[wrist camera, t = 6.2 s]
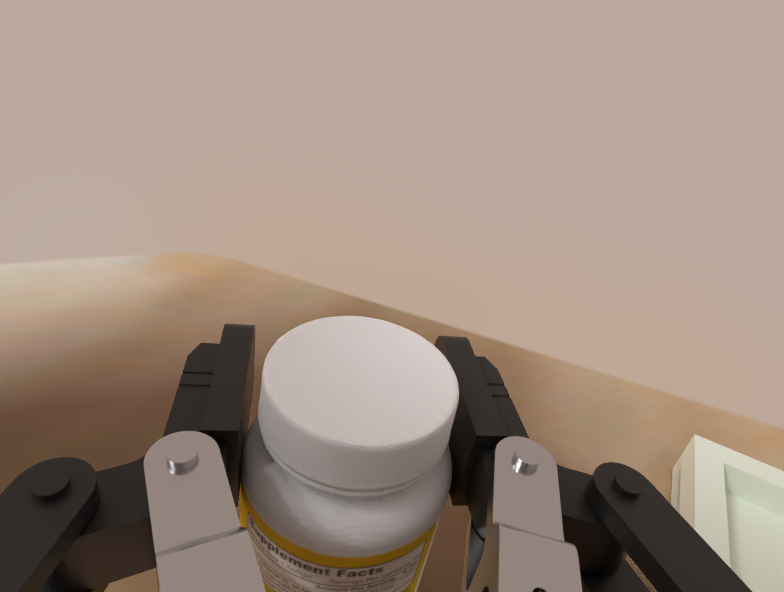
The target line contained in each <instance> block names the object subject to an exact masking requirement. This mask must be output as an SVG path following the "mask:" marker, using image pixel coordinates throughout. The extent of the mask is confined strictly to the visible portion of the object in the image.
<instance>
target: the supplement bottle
mask: <svg viewBox="0 0 784 592" xmlns="http://www.w3.org/2000/svg"><path fill="white" fill-rule="evenodd" d="M458 401H459V386H458V381H457V377H456V375H455V372H454V370H453V369H452V367H451V364H450V363H449V362H448V360H447V359H446V357H445V356H444V355H443V354H442V353H441V352H440V351H439V350H438V349H437V348H436V347H435V346H434V345H433V344H431V343H430V342H429V341H427V340H426V339H424V338H423V337H422V336H420V335H418V334H416V333H415V332H413V331H411V330H408V329H406V328H404V327H402V326H399V325H396V324H394V323H391V322H388V321H384V320H380V319H375V318H370V317H362V316H334V317H325V318H320V319H316V320H313V321H309V322H307V323H304V324H301V325H299V326H297V327H295V328H294V329H292V330H290V331H288V332H287V333H285V334H284V335H283V336H282V337H281V338H279V339H278V340H277V341H276V343H275V344H274V345H273V346H272V348H271V349H270V351H269V352H268V354H267V356H266V359H265V361H264V366H263V370H262V381H261V391H260V397H259V402H258V409H257V412H258V416H257V417H256V418H255V420H254V421H253V423H252V425H251V426H250V428H249V430H248V433H247V435H246V438H245V441H244V445H243V452H242V461H241V484H240V525H241V527H246V529H247V530H248V533H249V535H250V538H251V541H252V545H253V548H254V552H255V555H256V559H257V562H258V566H259V569H260V573H261V576H262V580H263V583H264V587H265V590H266V592H417V590H418V587H419V583H420V580H421V577H422V574H423V571H424V567H425V564H426V561H427V558H428V555H429V552H430V549H431V546H432V543H433V540H434V537H435V534H436V531H437V528H438V525H439V522H440V519H441V516H442V513H443V510H444V507H445V504H446V500H447V497H448V494H449V491H450V487H451V482H452V469H453V467H452V458H451V452H450V448H449V444H448V442H449V437H450V432H451V428H452V425H453V421H454V417H455V414H456V410H457V406H458Z"/></svg>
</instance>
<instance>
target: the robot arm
mask: <svg viewBox="0 0 784 592" xmlns="http://www.w3.org/2000/svg"><path fill="white" fill-rule="evenodd" d="M435 347H436V348H437V349H438V350H439V351H440V352H441V353H442V354H443V355H444V356H445V357H446V359H447V360H448V362H449V363H450V364H451V367H452V369H453V370H454V372H455V375H456V377H457V381H458V386H459V401H458V406H457V410H456V414H455V417H454V421H453V425H452V428H451V432H450V437H449V442H448V444H449V448H450V452H451V458H452V467H453V469H452V482H451V487H450V491H449V493H450V497H451V500H452V504H453V506H454V505H468V507H469V510H470V514H471V516H470V519H469V521H468V524H467V528H466V540H465V551H464V563H463V575H462V586H461V592H650V591H649V590H648V588H647V587H646V586H645V585H644V583H643V582H642V581H641V579H640V578H639V577H638V576H637V574H636V573H635V572H634V571H633V569H632V568H631V567H630V565H629V564H628V563H627V562H626V560H625V558H626V557H627V555H629V556H630V557H631V558H632V560H633V561H634V562H635V564H636V565H637V566H638V567H639V569H640V570H641V571H642V572H643V574H644V575H645V576H646V577H647V579H648V580H649V581H650V582H651V584H652V585H653V586H654V587H655V589H656V590H657V591H658V592H752V591H751V590H750V588H749V587H748V586H747V585H746V584H745V583H744V582H743V581H742V580H741V579H740V578H739V577H738V576H737V575H736V574H735V572H734V571H733V570H732V569H731V568H730V567H729V566H728V565H727V564H726V563H725V562H724V561H723V560H722V559H721V557H720V556H719V555H718V554H717V553H716V552H715V551H714V550H713V549H712V548H711V547H710V546H709V545H708V544H707V543H706V541H705V540H704V539H703V538H702V537H701V536H700V535H699V534H698V533H697V532H696V531H695V530H694V529H693V528H692V526H691V525H690V524H689V523H688V522H687V521H686V520H685V519H684V518H683V517H682V516H681V515H680V514H679V513H678V511H677V510H676V509H675V508H674V507H673V506H672V505H671V504H670V503H669V502H668V501H667V500H666V499H665V498H664V497H663V495H662V494H661V493H660V492H659V491H658V490H657V489H656V488H655V487H654V486H653V485H652V484H651V483H650V482H649V481H648V480H647V479H646V478H645V477H644V476H643V475H642V474H640V473H639V472H637V471H636V470H634V469H632V468H630V467H628V466H626V465H623V464H619V463H613V462H608V463H603V464H601V465H599V466H598V467H597V468H596V470H595V471H594V473H593V475H589V474H586V473H582V472H579V471H575V470H571V469H568V468H565V467H562V466H559V465H557V464H556V462H555V459H554V458H553V456H552V455H551V454H550V452H549V451H548V450H547V449H546V448H545V447H543V446H542V445H541V444H539V443H537V442H536V441H533V440H531V439H529V437H528V435H527V433H526V431H525V428H524V426H523V424H522V422H521V420H520V417H519V415H518V413H517V411H516V409H515V406H514V404H513V402H512V400H511V398H509V393H508V391H507V389H506V387H504V382H503V380H502V378H501V376H500V374H499V371H498V369H497V368H496V367H494V366H493V365H492V364H491V363H490V362H489V361H488V360H487V359H486V358H485V357H478V356H475V354H474V352H473V350H472V347H471V345H470V342H469V340H468V339H467V338H466V337H451V336H439V337H438V338H437V340H436V343H435ZM254 354H255V325H238V324H225V325H224V329H223V333H222V338H221V342H220V344H213V343H200V344H199V345H198V346H197V347H196V348H195V349H194V350H193V351H192V352H191V353H190V354H189V355H188V357H187V360H186V363H185V367H184V370H183V375H182V376H181V380H180V383H179V387H178V390H177V393H176V396H175V399H174V403H173V406H172V409H171V412H170V416H169V419H168V422H167V425H166V429H165V432H164V435H163V437H162V438H161V439H159V440H158V441H157V442H155V443H154V444H153V445H152V446H151V447H150V449H149V450H148V451H147V453H146V455H145V456H144V457H142V458H140V459H138V460H136V461H134V462H131V463H129V464H125V465H122V466H118V467H113V468H109V469H105V470H101V471H97V472H95V470H94V469H93V467H92V466H91V465H90V464H88V463H87V462H85V461H83V460H80V459H77V458H70V457H63V458H55V459H50V460H47V461H44V462H41V463H38V464H36V465H34V466H32V467H30V468H29V469H27V470H25V471H24V472H23V473H21V474H20V475H19V476H18V477H17V478H16V479H15V480H14V481H13V482H12V483H11V484H10V485H9V486H8V487H7V488H6V489H5V490H4V491H3V492H2V494H1V495H0V592H104V591H105V589H106V588H107V586H108V584H109V583H111V582H114V581H117V580H120V579H123V578H126V577H129V576H132V575H135V574H138V573H141V572H144V571H147V570H150V569H153V568H156V571H157V579H158V587H159V592H266V590H265V587H264V583H263V580H262V576H261V573H260V569H259V566H258V562H257V559H256V555H255V552H254V548H253V545H252V541H251V538H250V535H249V533H248V530H247V529H246V527H241V525H240V522H239V518H238V515H237V511H236V507H238V499H239V492H240V484H241V461H242V452H243V445H244V441H245V438H246V435H247V431H248V423H249V416H250V408H251V400H252V392H253V379H254Z"/></svg>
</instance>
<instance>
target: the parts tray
mask: <svg viewBox="0 0 784 592" xmlns="http://www.w3.org/2000/svg"><path fill="white" fill-rule="evenodd" d="M671 505H672V506H673V507H674V508H675V509H676V510H677V511H678V513H679V514H680V515H681V516H682V517H683V518H684V519H685V520H686V521H687V522H688V523H689V524H690V525H691V526H692V528H693V529H694V530H695V531H696V532H697V533H698V534H699V535H700V536H701V537H702V538H703V539H704V540H705V541H706V543H707V544H708V545H709V546H710V547H711V548H712V549H713V550H714V551H715V552H716V553H717V554H718V555H719V556H720V557H721V559H722V560H723V561H724V562H725V563H726V564H727V565H728V566H729V567H730V568H731V569H732V570H733V571H734V572H735V574H736V575H737V576H738V577H739V578H740V579H741V580H742V581H743V582H744V583H745V584H746V585H747V586H748V587H749V588H750V590H751V591H752V592H784V471H781V470H779V469H777V468H774V467H772V466H769V465H767V464H765V463H762V462H760V461H758V460H755V459H753V458H750V457H748V456H746V455H743V454H741V453H738V452H736V451H734V450H731V449H729V448H727V447H724V446H722V445H719V444H717V443H715V442H712V441H710V440H707V439H705V438H703V437H700V436H698V435H696V434H695V435H694V436H693V438H692V439H691V441H690V442H689V444H688V446H687V447H686V449H685V450H684V452H683V454H682V455H681V457H680V458H679V460H678V461H677V463H676V465H675V466H674V468H673V471H672V491H671Z"/></svg>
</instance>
